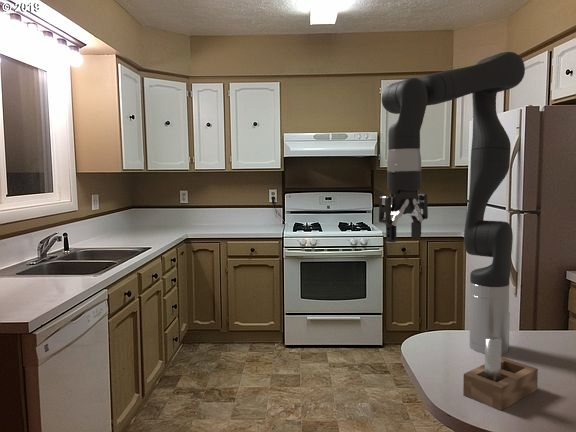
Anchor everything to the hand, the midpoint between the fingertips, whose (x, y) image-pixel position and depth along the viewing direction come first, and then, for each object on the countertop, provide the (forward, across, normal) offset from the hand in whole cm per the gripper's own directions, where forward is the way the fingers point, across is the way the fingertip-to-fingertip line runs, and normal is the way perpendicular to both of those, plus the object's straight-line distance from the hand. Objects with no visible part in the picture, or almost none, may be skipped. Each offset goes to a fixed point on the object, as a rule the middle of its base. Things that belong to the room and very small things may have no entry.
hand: (404, 239), depth 106 cm
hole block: (+30, -5, +21) cm, 37 cm away
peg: (+30, -2, +21) cm, 37 cm away
